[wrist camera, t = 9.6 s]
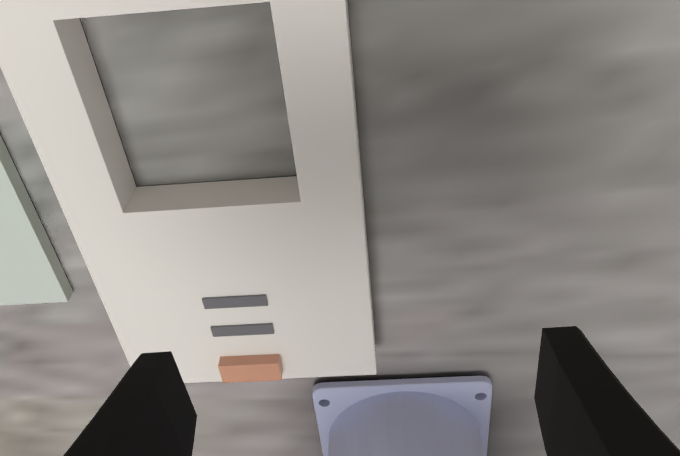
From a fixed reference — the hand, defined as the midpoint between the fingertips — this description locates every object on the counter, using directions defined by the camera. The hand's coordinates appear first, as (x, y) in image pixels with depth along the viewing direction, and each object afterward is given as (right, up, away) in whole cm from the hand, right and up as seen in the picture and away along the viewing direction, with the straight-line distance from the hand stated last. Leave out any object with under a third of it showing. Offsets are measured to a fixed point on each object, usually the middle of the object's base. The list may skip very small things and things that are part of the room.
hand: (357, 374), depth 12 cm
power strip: (-5, +5, +10) cm, 12 cm away
